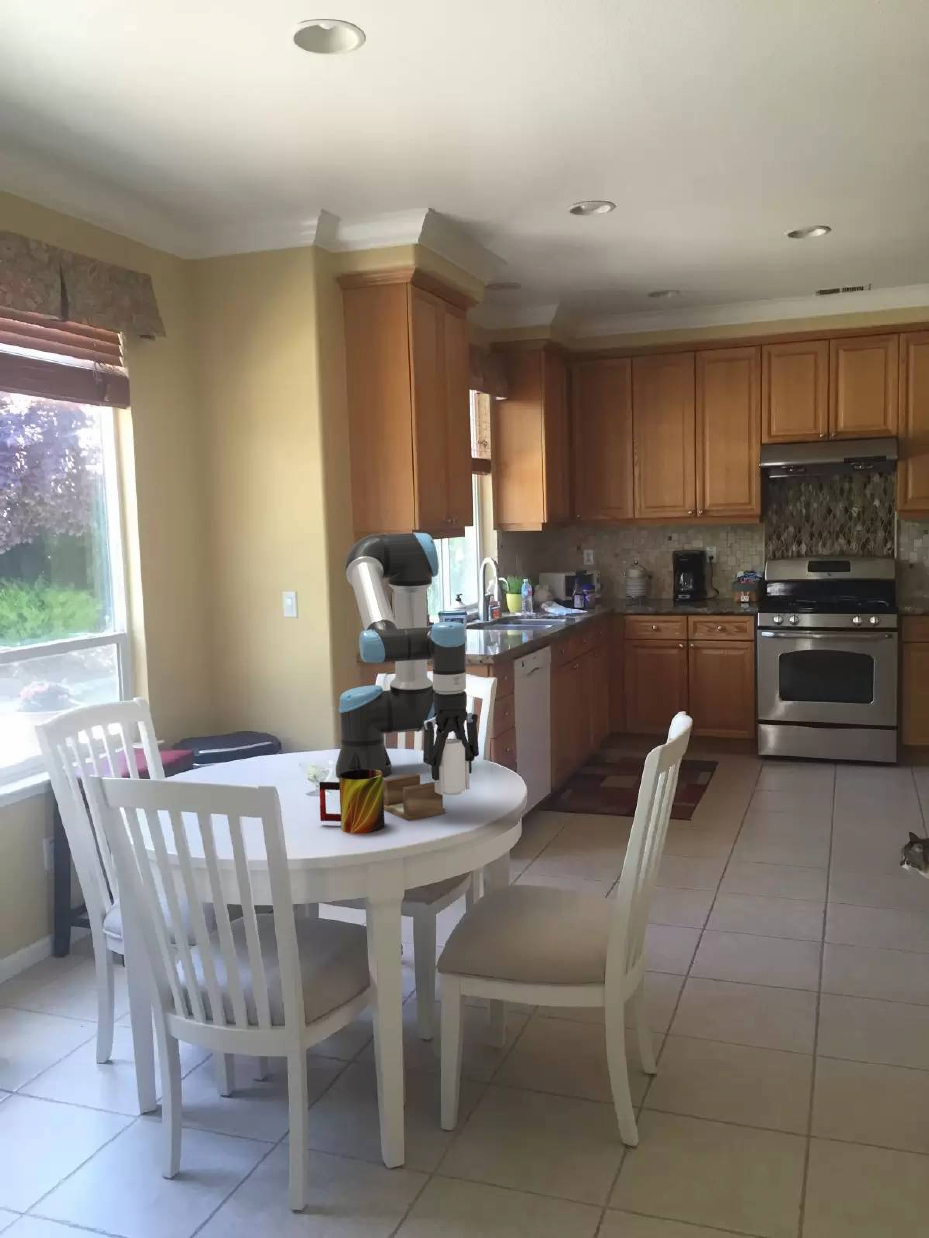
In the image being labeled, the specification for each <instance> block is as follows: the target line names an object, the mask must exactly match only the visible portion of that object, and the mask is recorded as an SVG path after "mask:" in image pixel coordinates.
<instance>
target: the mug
mask: <svg viewBox="0 0 929 1238" xmlns="http://www.w3.org/2000/svg"><path fill="white" fill-rule="evenodd" d="M383 779H384V777H383V773H382V772H381V771H378V770H372V769H358V770H351V771H346V772H343V773H341V774H340V775H339V777H338V781H320V782H318V783H319V784H318V785H319V815H320V817H319V818H320V819H319V820H320V822H338V823H339V822H340V830H341V831H342V832H344V833H347V834H353V835H354V834H355V835H358V834H359V835H362V834H370V833H371V834H372V833H376V832H380V831H381V830H382V831H383V829H384V828H385V827H386V825H385V810H384V796H383ZM326 791H339V806H340V808H339V810H340V813H327V803H326V801H327V800H326Z"/></svg>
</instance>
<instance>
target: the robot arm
mask: <svg viewBox="0 0 929 1238" xmlns="http://www.w3.org/2000/svg"><path fill="white" fill-rule="evenodd" d="M437 551H438V550H437V547H436V545H435V541H434V539H433V538H432V535H430V534H428V533H427V532H426V533H425V532H400V533H397V532H396V533H377V534H376V533H375V534H370V535H368V536H365V537H363V538H361V539H360V540H359V541H357V542H356V543H355V544H354V545H353V547H352V548H351V549H350V550H349V553H348V554H347V556H346V560H345V564H344V572H345V576H346V579H347V581H348V583H349V584H350V585H351V586H352V588H353V591H354V595H355V599H356V601H357V602H356V603H357V606H358V610H359V614H360V617H361V621H362V626H363V629H364V630H362V631H361V632H360V634H359V638H358V639H359V641H358V643H359V644H358V646H359V653H360V654H359V655H360V658H361V660H362V661H363V662H364V663H367V664H370V663H373V664H374V663H376V664H382V663H392V662H395V664H394V665H395V667H394V669H395V673H394V675H395V677H394V678H393V679H392V680H391V681H390V683H389V688H390V689H388V690H384V689H383V687H382V685H377V684H373V685H364V686H359V687H355V688H351V689H347V690H345V691H344V692H343V693H342V694H341V695H340V697H339V708H338V712H339V719H340V720H339V722H340V723H339V724H340V725H339V726H340V727H339V728H340V751H339V753H338V757H337V759H336V760H337V761H336V764H335V776H336V777H337V778H339V775H340V774H341V773H343V772H346V771H351V770H358V769H372V770H378V771H381V772H382V773H383V778H384V777H387V776H388V775H391V774H392V773H393V768H392V762H391V759H390V755H389V754H388V750H387V749H386V745H385V734H398V733H410V732H412V733H413V732H416V733H418V732H421V731H422V732H423V750H422V751H423V753H422V754H423V756H422V758H423V759H422V762H423V763H424V764H426V765H429V766H431V769H430V771H431V779H432V780H434V782H435V792H436V793H438V794H440V795H445V794H444V778H443V766H442V765H440V762H441V758H442V754H443V750H444V746H445V742H446V739H448V737H449V735H450V733H454V735H455V739H459V740H462V744H463V746H464V748H465V775H466V789H465V790H470V774H472V772H473V770H472V768H473V766H472V762H473V761H475V757H478V756H479V755H480V751H479V749H480V748H479V738H478V737H479V736H478V726H477V724H478V719H479V716H478V714H476V713H473V712H468V711H467V704H468V703H467V702H468V701H467V698H468V697H467V692H466V691H465V690H466V689H467V677H466V676H467V675H466V674H467V673H466V670H467V669H466V665H467V664H466V659H467V658H466V641H467V638H466V637H467V636H466V633H465V630H466V629H465V626H464V624H463V623H462V622H459V621H458V622H457V621H440V622H436V623H434V624H432V625H427V624H428V623H427V622H428V621H427V620H428V618H427V616H428V615H427V612H428V611H427V590H428V588H430V587H431V585H432V584H433V578H435V577H436V576H438V574H439V565H440V564H439V558H438V557H439V556H438V552H437ZM383 579H387V580H388V581H387V583H388V584H387V585H388V586H390V588H391V589H392V590H393V593H394V596H393V598H394V613H393V610H392V608H391V604H390V600H389V598H388V593H387V590H386V586H385V583H384V580H383ZM429 660H431V661H432V679H430V678H429V677H428V661H429ZM465 722H466V729H465V726H464V724H465ZM436 727H437V728H436ZM435 728H436V732H435ZM466 734H467V735H466ZM435 735H436V736H435Z"/></svg>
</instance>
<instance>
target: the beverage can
mask: <svg viewBox="0 0 929 1238" xmlns="http://www.w3.org/2000/svg"><path fill="white" fill-rule="evenodd" d="M440 765H442V766H443V778H444V794H443V795H446V796H457V795H460V794H462V793H463V792H465V791H466V790H467V789H466V775H465V748H464V746H463V744H462V740H459V739H457V738H446V742H445V746H444V750H443V754H442V758H441V762H440Z"/></svg>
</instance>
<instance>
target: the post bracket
mask: <svg viewBox="0 0 929 1238" xmlns="http://www.w3.org/2000/svg"><path fill="white" fill-rule="evenodd" d="M443 795H444V794H443ZM443 795H440V794H438V793H436V792H435V781H431V782H426V783H421V774H418V773H409V774H403V775H398V776H393V777H392V776H391V777H386V778H383V796H384V812H388V813H390V814H392V815H394V816H397V817H399V818H401V819H403V820H405V821H413V820H418V819H419V820H420V819H422V818H423V819H424V818H427V817H433V816H437V815H442V814H446V808H445V807H444V800H443V799H444V797H443Z"/></svg>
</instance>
